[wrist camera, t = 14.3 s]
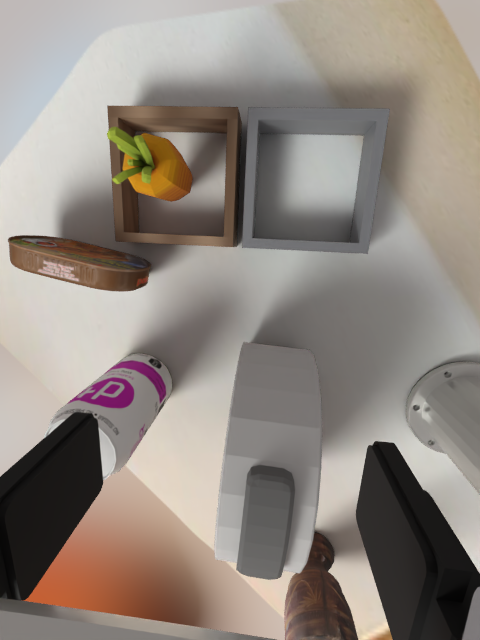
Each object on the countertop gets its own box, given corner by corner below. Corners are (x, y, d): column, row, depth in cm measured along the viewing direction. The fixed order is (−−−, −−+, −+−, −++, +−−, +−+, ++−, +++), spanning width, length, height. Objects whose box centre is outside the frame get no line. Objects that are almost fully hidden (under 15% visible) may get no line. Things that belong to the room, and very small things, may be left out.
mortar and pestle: (314, 504, 45) (347, 705, 25) (362, 533, 45) (431, 752, 26) (271, 552, 48) (271, 763, 28) (316, 578, 48) (347, 804, 29)
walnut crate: (241, 122, 33) (238, 107, 29) (236, 246, 36) (232, 247, 32) (126, 121, 34) (107, 105, 30) (131, 241, 37) (115, 241, 33)
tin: (161, 262, 38) (131, 268, 30) (157, 286, 38) (127, 299, 30) (46, 233, 38) (-14, 231, 30) (45, 257, 39) (-14, 262, 31)
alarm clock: (247, 325, 39) (224, 408, 19) (306, 331, 38) (341, 424, 19) (233, 464, 44) (205, 635, 25) (284, 472, 44) (295, 652, 25)
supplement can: (118, 346, 41) (35, 404, 27) (177, 358, 41) (125, 423, 26) (114, 399, 43) (36, 478, 29) (170, 410, 43) (120, 497, 28)
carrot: (208, 206, 35) (166, 183, 21) (167, 212, 36) (99, 193, 21) (202, 159, 34) (152, 101, 20) (159, 166, 35) (81, 114, 20)
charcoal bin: (375, 124, 32) (389, 108, 28) (357, 252, 35) (367, 253, 31) (251, 122, 33) (248, 107, 29) (245, 246, 36) (242, 247, 32)
